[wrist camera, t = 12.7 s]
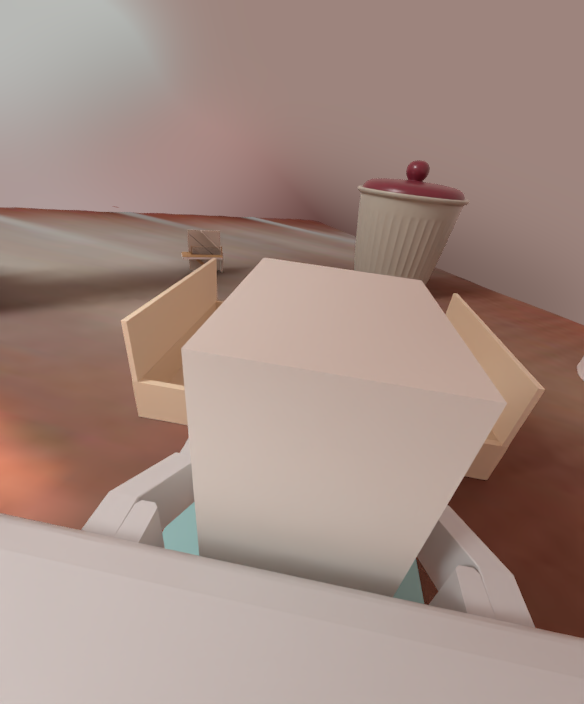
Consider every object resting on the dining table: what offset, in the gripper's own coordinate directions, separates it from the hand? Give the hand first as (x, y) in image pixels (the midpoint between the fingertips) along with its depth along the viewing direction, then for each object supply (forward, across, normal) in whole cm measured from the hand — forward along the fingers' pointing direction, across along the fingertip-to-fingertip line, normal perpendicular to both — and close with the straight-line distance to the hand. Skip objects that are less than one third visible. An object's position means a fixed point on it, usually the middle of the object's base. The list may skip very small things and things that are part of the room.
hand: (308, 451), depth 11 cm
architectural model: (+47, +22, +11) cm, 53 cm away
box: (-1, 0, +8) cm, 8 cm away
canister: (+54, -12, +10) cm, 56 cm away
